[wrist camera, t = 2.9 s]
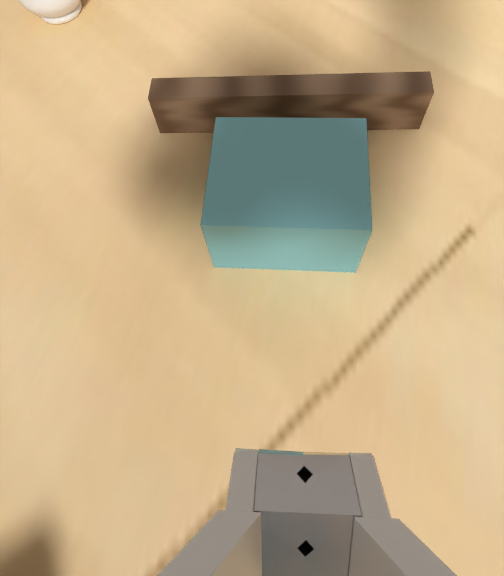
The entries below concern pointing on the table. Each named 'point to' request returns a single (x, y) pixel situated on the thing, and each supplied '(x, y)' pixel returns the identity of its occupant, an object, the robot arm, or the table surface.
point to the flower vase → (53, 9)
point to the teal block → (288, 194)
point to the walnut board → (292, 99)
